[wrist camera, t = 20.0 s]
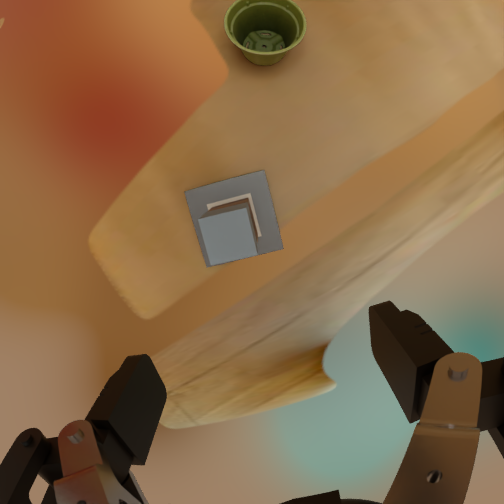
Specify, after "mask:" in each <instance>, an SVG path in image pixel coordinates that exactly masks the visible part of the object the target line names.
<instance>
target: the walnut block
mask: <svg viewBox="0 0 504 504" xmlns="http://www.w3.org/2000/svg"><path fill="white" fill-rule="evenodd" d="M246 202H248V206H249V210H250V214H251V219H252V223H253V227H254V231H255V235H256V240H257V243H258V232H257V228H256V225H255V221H254V217H253V213H252V210H251V206H250V202H249V198H244V199H240V200H236V201H233V202H229V203H225V204H222V205H218V206H214V207H212V208H211V209H209V210H208V211H212V210H217V209H221V208H225V207H229V206H233V205H237V204H242V203H246ZM208 211H207V212H208Z"/></svg>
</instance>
